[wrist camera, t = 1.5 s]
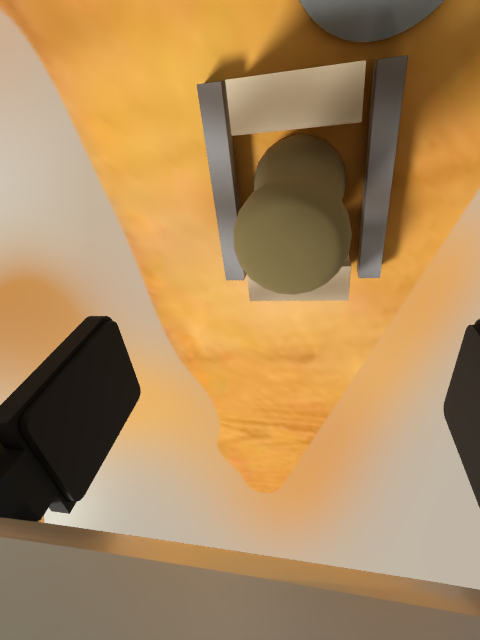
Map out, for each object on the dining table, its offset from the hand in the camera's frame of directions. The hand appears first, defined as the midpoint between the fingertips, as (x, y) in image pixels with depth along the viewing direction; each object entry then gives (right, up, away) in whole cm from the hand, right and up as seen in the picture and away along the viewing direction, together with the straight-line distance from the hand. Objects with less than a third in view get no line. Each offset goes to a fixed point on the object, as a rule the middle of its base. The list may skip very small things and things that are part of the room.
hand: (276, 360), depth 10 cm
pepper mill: (+3, +10, +14) cm, 17 cm away
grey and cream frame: (+3, +10, +13) cm, 17 cm away
